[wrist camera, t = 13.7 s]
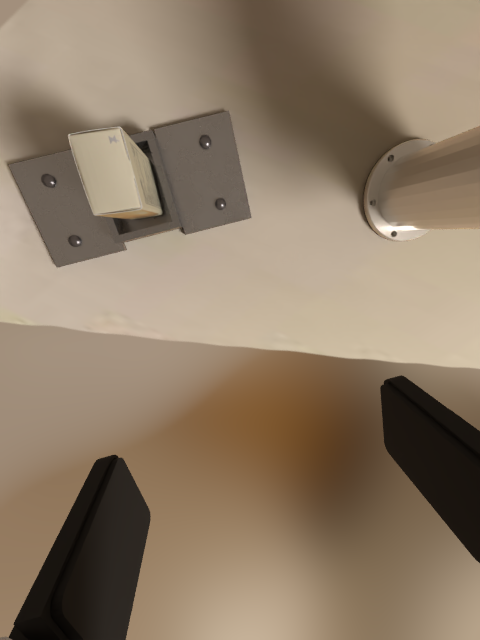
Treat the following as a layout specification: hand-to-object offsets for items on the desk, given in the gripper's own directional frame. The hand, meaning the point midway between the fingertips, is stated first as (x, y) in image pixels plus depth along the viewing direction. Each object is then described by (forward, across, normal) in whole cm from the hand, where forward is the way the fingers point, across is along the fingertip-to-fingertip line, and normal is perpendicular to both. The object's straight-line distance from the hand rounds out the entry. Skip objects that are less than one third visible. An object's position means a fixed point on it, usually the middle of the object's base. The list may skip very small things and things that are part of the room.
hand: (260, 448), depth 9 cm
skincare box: (+30, +7, -14) cm, 34 cm away
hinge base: (+30, +7, -14) cm, 34 cm away
